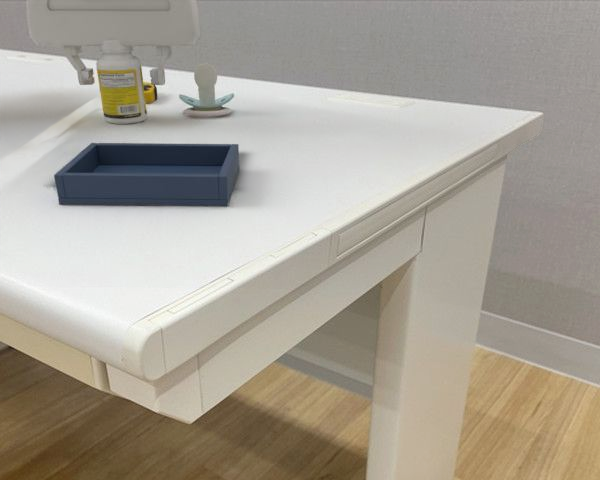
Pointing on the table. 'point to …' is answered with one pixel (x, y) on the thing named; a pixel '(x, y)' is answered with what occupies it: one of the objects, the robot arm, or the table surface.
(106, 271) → the table surface
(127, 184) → the tray
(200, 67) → the pacifier
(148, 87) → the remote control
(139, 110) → the supplement bottle
